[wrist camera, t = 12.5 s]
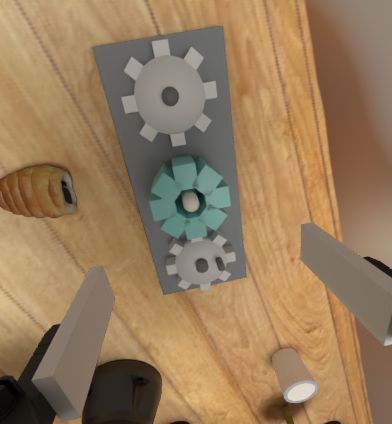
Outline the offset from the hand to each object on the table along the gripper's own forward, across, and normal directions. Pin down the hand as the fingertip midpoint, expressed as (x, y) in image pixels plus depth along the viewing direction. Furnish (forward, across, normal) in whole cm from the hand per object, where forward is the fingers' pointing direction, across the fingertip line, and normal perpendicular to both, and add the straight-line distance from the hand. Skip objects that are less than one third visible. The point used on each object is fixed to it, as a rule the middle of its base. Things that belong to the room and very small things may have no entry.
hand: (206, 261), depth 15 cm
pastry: (+19, +18, -3) cm, 27 cm away
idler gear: (+17, 0, 0) cm, 17 cm away
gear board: (+18, 0, 0) cm, 19 cm away
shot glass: (+19, -14, +42) cm, 48 cm away
